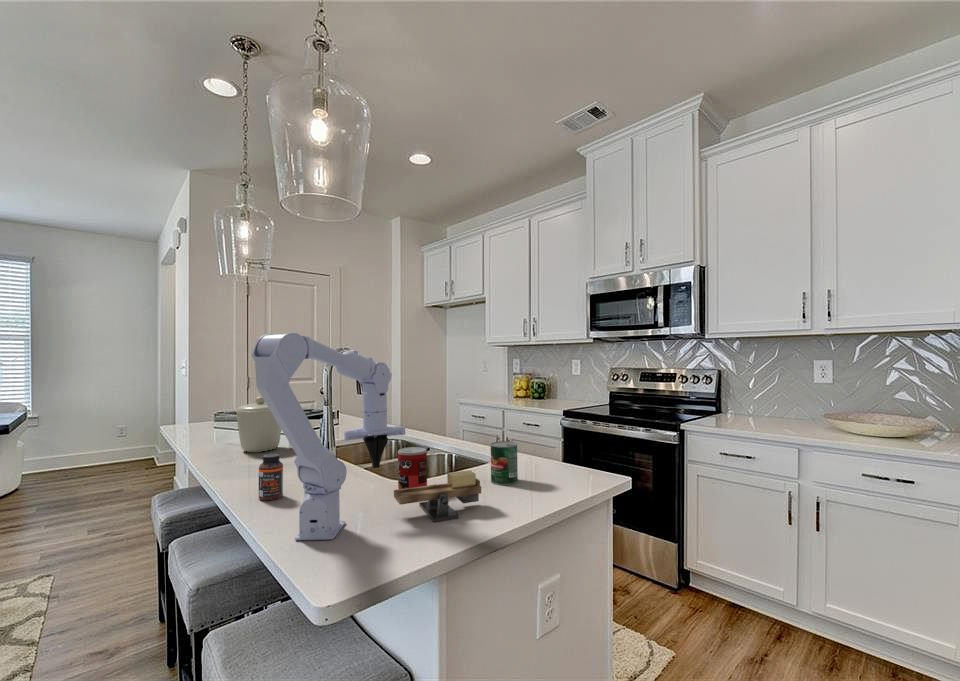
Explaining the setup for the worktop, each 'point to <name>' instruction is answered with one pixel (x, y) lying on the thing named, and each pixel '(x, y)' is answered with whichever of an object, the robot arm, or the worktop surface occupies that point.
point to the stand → (439, 509)
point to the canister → (257, 427)
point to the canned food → (412, 467)
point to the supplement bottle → (270, 478)
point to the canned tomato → (504, 463)
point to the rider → (461, 479)
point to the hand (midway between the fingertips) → (375, 466)
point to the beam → (437, 493)
